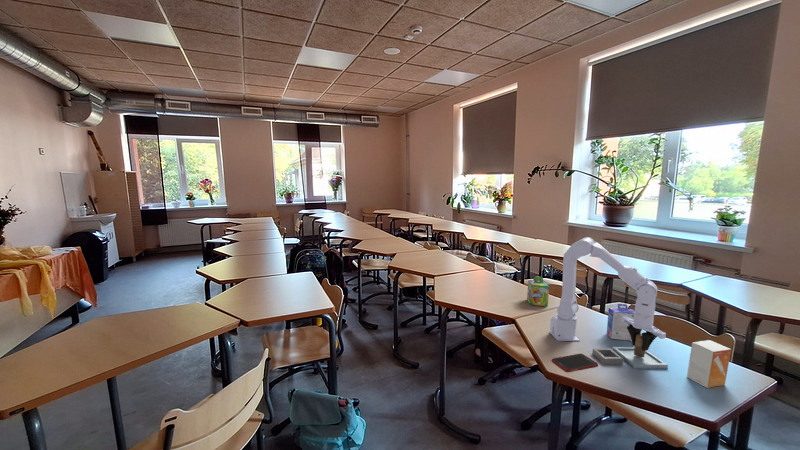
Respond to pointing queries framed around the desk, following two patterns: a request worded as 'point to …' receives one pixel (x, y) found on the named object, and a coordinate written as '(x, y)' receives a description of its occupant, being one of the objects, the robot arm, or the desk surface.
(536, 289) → the chalk box
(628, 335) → the ink cartridge box
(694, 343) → the small box
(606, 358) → the square frame
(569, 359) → the cell phone
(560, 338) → the robot arm
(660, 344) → the desk surface
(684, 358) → the desk surface
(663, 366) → the tray
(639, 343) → the pin
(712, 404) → the desk surface
